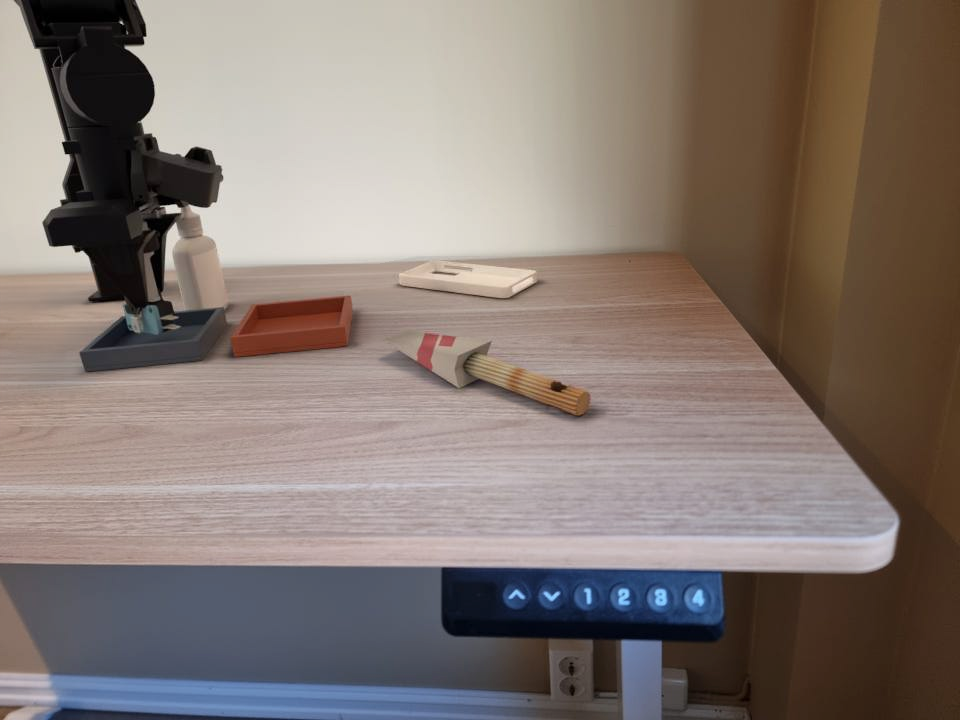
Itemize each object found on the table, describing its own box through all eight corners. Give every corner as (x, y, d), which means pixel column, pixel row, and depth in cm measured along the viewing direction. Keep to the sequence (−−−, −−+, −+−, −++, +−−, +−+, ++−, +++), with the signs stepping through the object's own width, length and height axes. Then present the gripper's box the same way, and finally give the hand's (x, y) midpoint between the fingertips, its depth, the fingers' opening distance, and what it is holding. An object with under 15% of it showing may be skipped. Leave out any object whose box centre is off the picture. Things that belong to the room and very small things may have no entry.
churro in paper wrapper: (411, 313, 60) (599, 377, 47) (413, 342, 61) (597, 412, 49) (376, 325, 58) (565, 396, 45) (379, 355, 59) (564, 432, 46)
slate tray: (126, 333, 70) (121, 316, 69) (227, 324, 71) (223, 306, 70) (84, 372, 61) (78, 352, 60) (202, 360, 62) (198, 340, 61)
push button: (202, 325, 65) (178, 220, 62) (152, 343, 61) (124, 231, 57) (158, 318, 68) (133, 218, 65) (109, 335, 64) (79, 229, 61)
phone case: (397, 285, 81) (506, 299, 73) (396, 274, 80) (506, 287, 72) (434, 270, 86) (539, 281, 79) (433, 259, 86) (538, 270, 78)
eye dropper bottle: (242, 308, 76) (220, 199, 71) (196, 323, 72) (169, 208, 67) (219, 302, 78) (197, 197, 74) (174, 316, 74) (147, 206, 70)
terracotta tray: (254, 321, 71) (251, 304, 70) (353, 312, 72) (350, 295, 71) (234, 357, 62) (230, 337, 61) (347, 346, 63) (344, 326, 62)
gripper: (170, 124, 50) (214, 323, 56) (226, 114, 67) (255, 267, 73) (11, 135, 49) (73, 336, 55) (109, 121, 66) (148, 276, 72)
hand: (149, 299), depth 64 cm, fingers closed on push button, 4 cm apart
